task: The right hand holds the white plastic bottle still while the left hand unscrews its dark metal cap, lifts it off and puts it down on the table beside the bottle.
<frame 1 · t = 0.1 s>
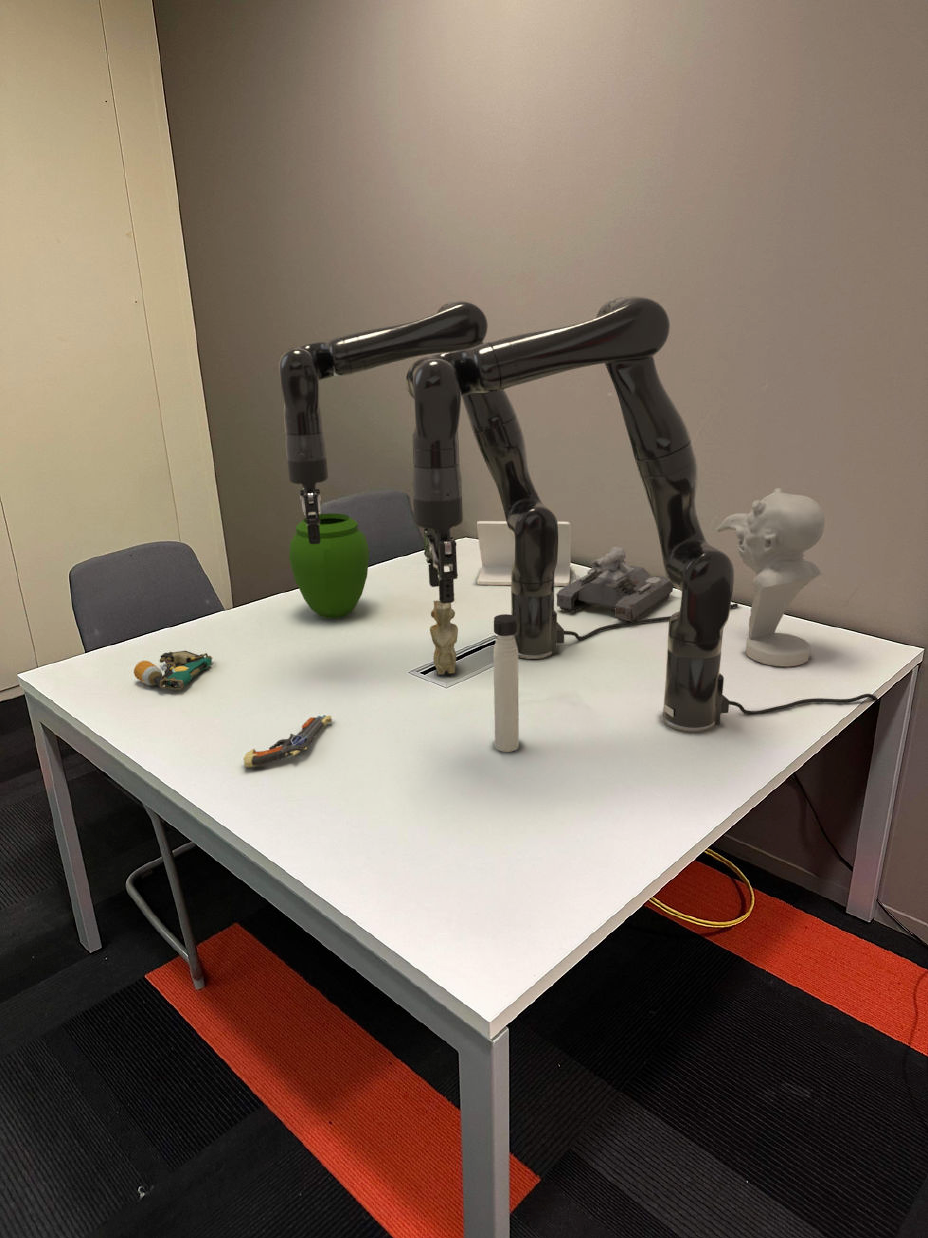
left hand: (314, 538, 170), 30 cm above the table, tool pointing down, fingers open, 8 cm apart
right hand: (441, 593, 136), 29 cm above the table, tool pointing down, fingers open, 8 cm apart
toy: (615, 605, 214), on the table
bust sculpture: (758, 651, 184), on the table
bottle: (506, 746, 149), on the table
cap: (505, 619, 141), point 24 cm above the table, screwed on, not yet turned
vase: (334, 614, 214), on the table
toy gun: (289, 745, 151), on the table
spray gun: (177, 676, 181), on the table
sculpture: (445, 671, 180), on the table
tablet stand: (525, 575, 239), on the table
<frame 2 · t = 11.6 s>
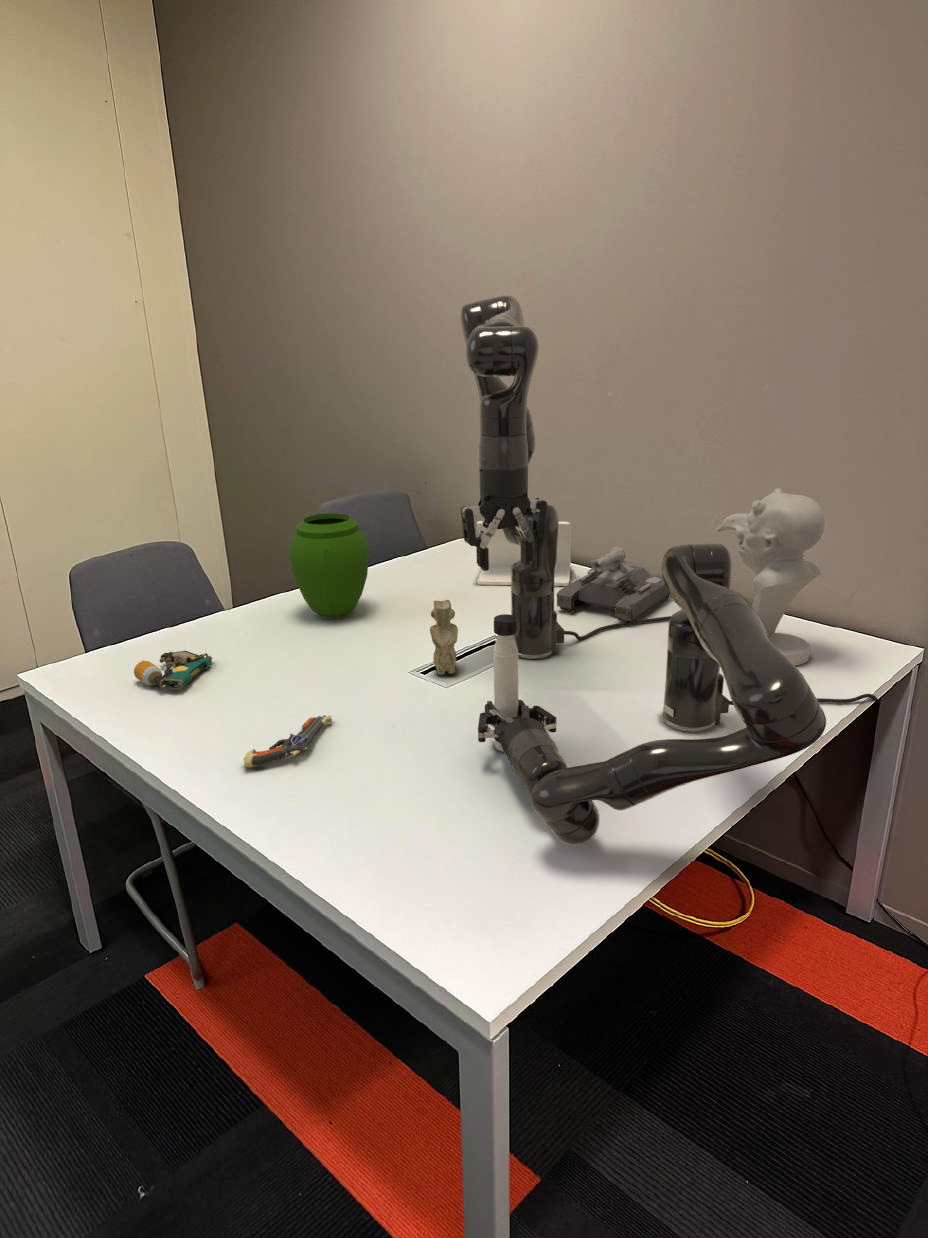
left hand: (504, 566, 137), 33 cm above the table, tool pointing down, fingers open, 6 cm apart
right hand: (502, 704, 149), 7 cm above the table, tool horizontal, fingers closed on bottle, 4 cm apart
bottle: (506, 746, 149), on the table, touching right hand
everything else where it was.
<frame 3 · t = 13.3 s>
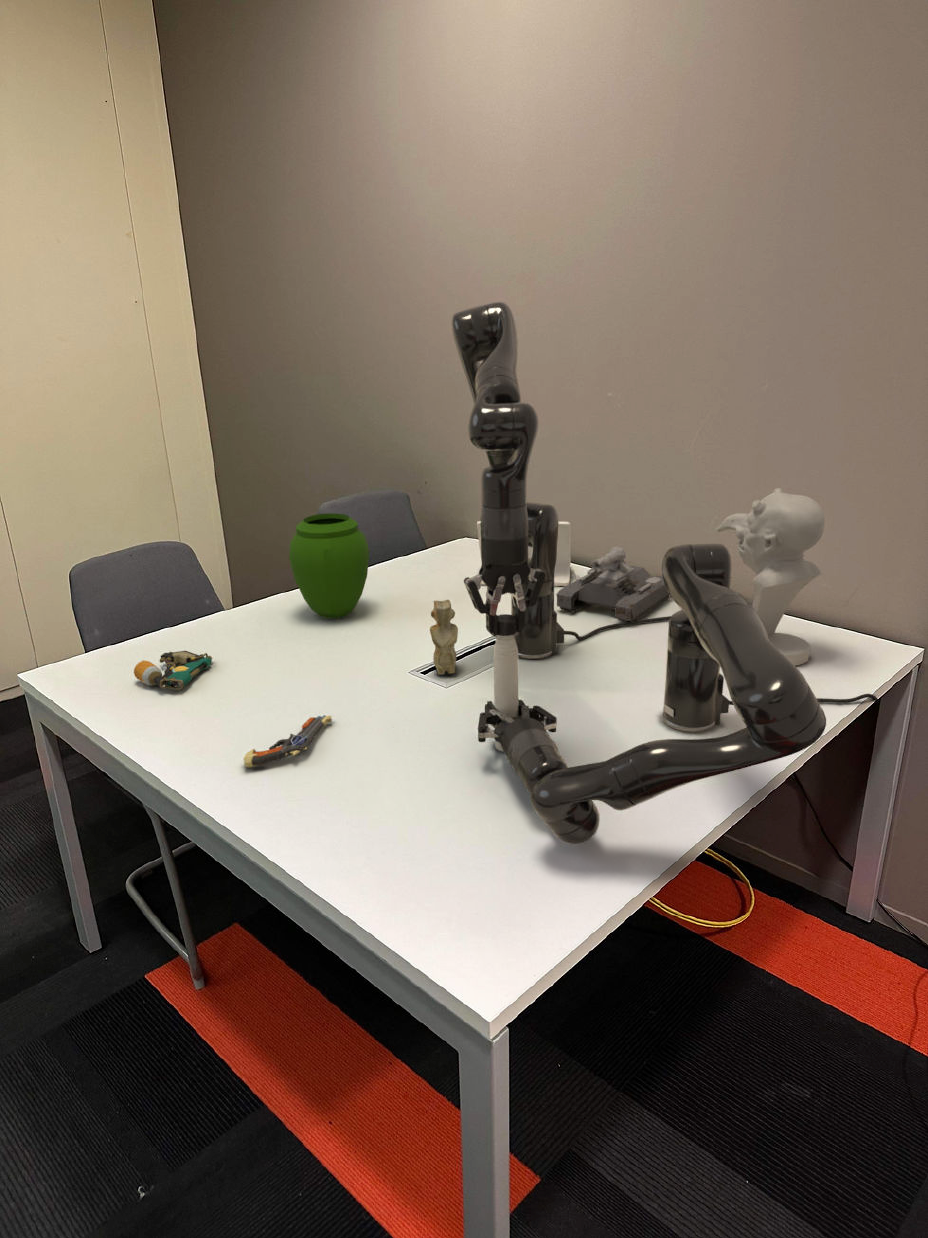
left hand: (505, 632, 141), 21 cm above the table, tool pointing down, fingers closed on cap, 3 cm apart
right hand: (502, 704, 149), 7 cm above the table, tool horizontal, fingers closed on bottle, 4 cm apart
bottle: (506, 746, 149), on the table, touching right hand
cap: (505, 619, 141), point 24 cm above the table, screwed on, not yet turned, touching left hand
everything else where it was.
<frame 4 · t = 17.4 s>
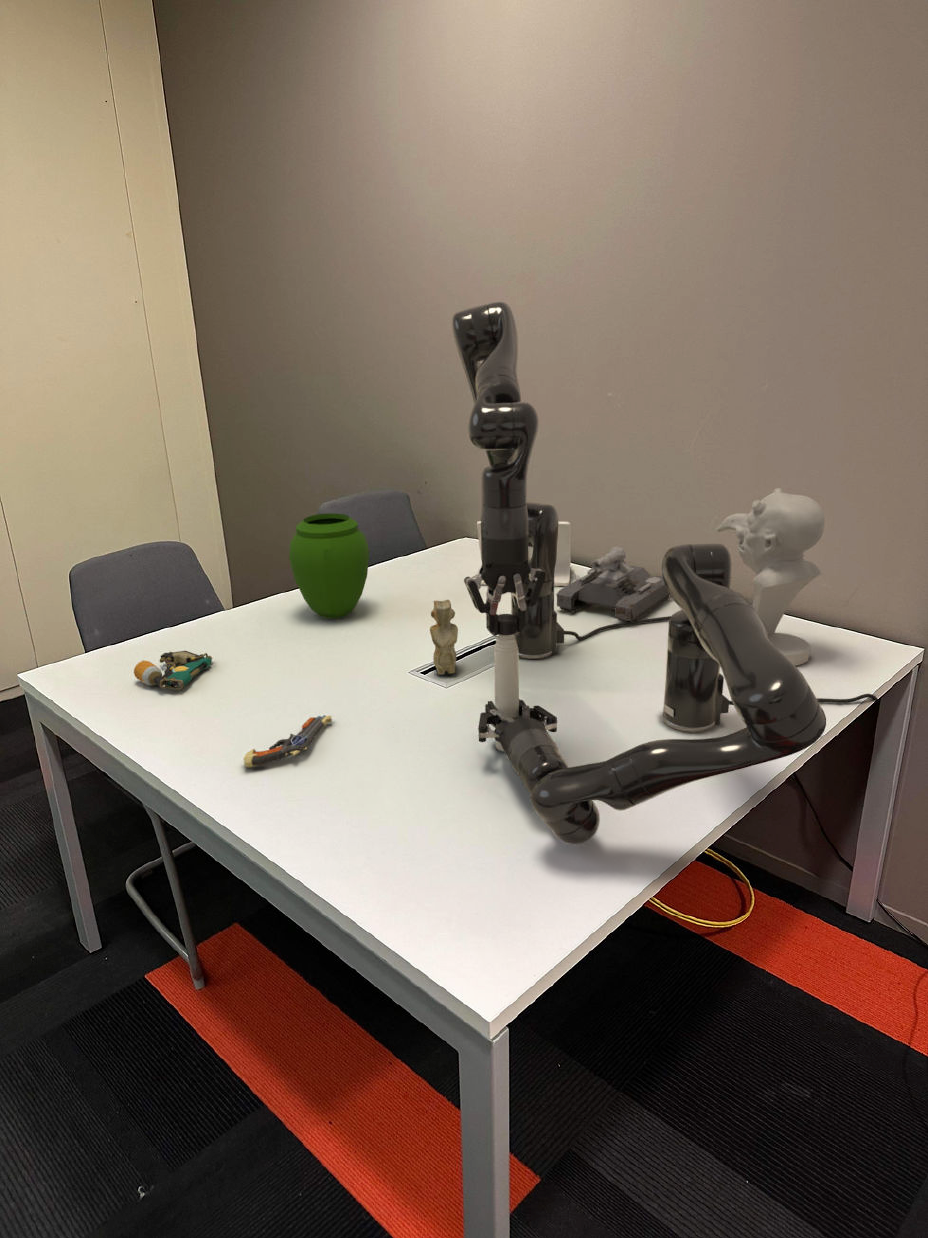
left hand: (505, 631, 141), 21 cm above the table, tool pointing down, fingers closed on cap, 3 cm apart
right hand: (503, 704, 149), 7 cm above the table, tool horizontal, fingers closed on bottle, 4 cm apart
bottle: (507, 746, 149), on the table, touching right hand
cap: (505, 619, 141), point 24 cm above the table, turned 90° so far, risen 0.1 cm, still on its thread, touching left hand
everything else where it was.
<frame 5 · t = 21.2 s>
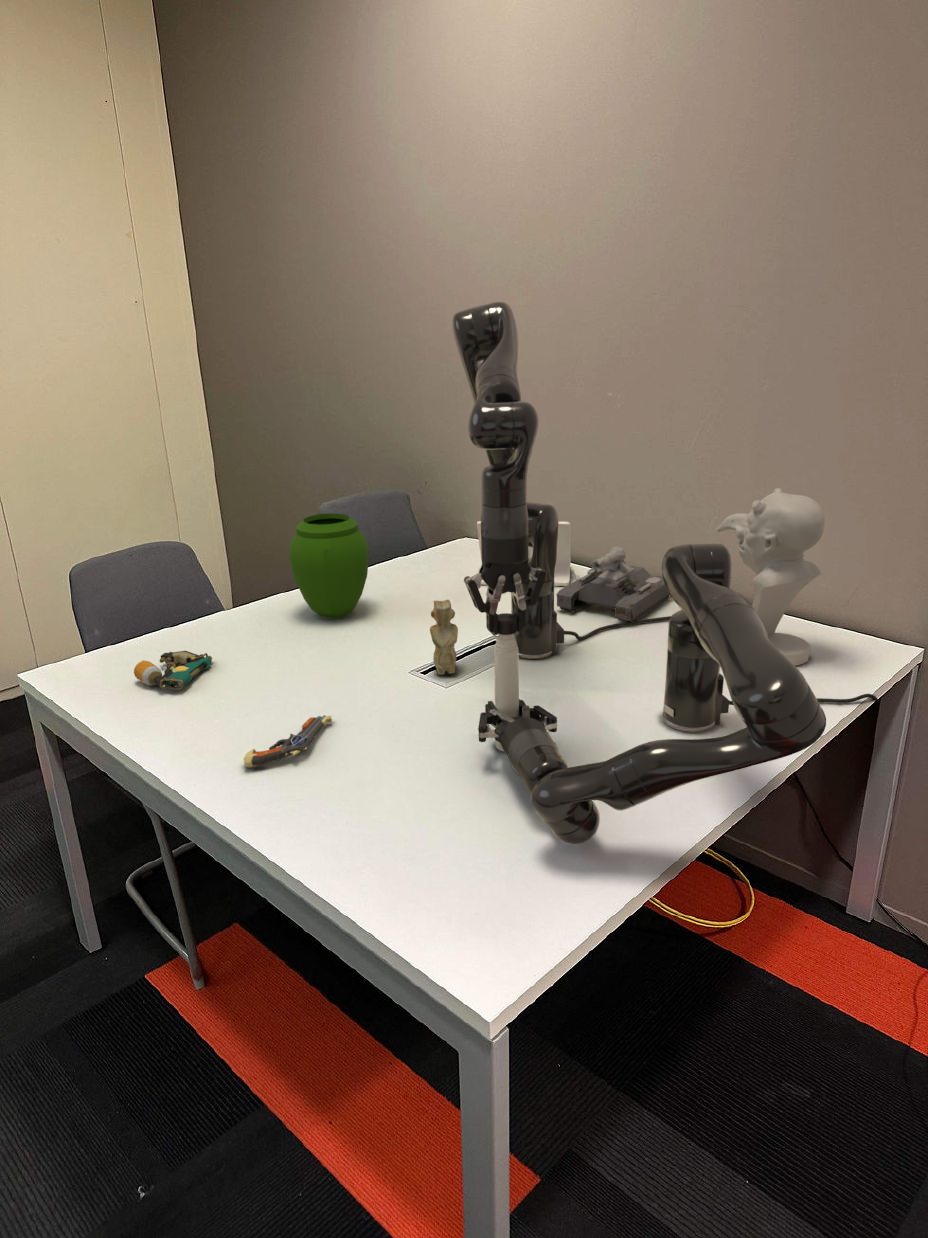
left hand: (505, 631, 141), 22 cm above the table, tool pointing down, fingers closed on cap, 3 cm apart
right hand: (503, 704, 149), 7 cm above the table, tool horizontal, fingers closed on bottle, 4 cm apart
bottle: (507, 746, 149), on the table, touching right hand
cap: (505, 618, 140), point 24 cm above the table, turned 180° so far, risen 0.2 cm, still on its thread, touching left hand
everything else where it was.
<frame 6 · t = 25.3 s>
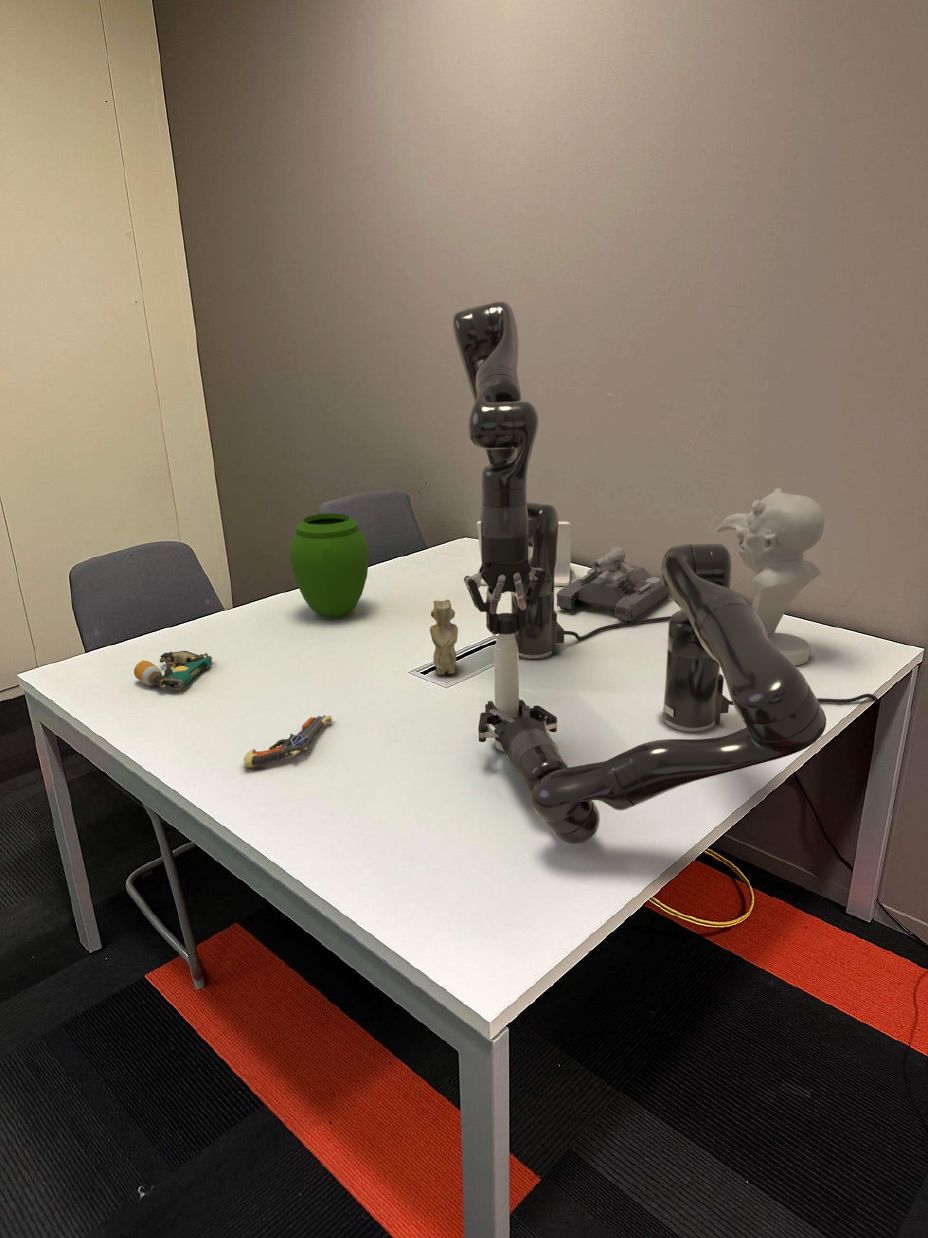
left hand: (505, 630, 141), 22 cm above the table, tool pointing down, fingers closed on cap, 3 cm apart
right hand: (503, 704, 149), 7 cm above the table, tool horizontal, fingers closed on bottle, 4 cm apart
bottle: (507, 746, 149), on the table, touching right hand
cap: (505, 618, 140), point 24 cm above the table, turned 270° so far, risen 0.2 cm, still on its thread, touching left hand
everything else where it was.
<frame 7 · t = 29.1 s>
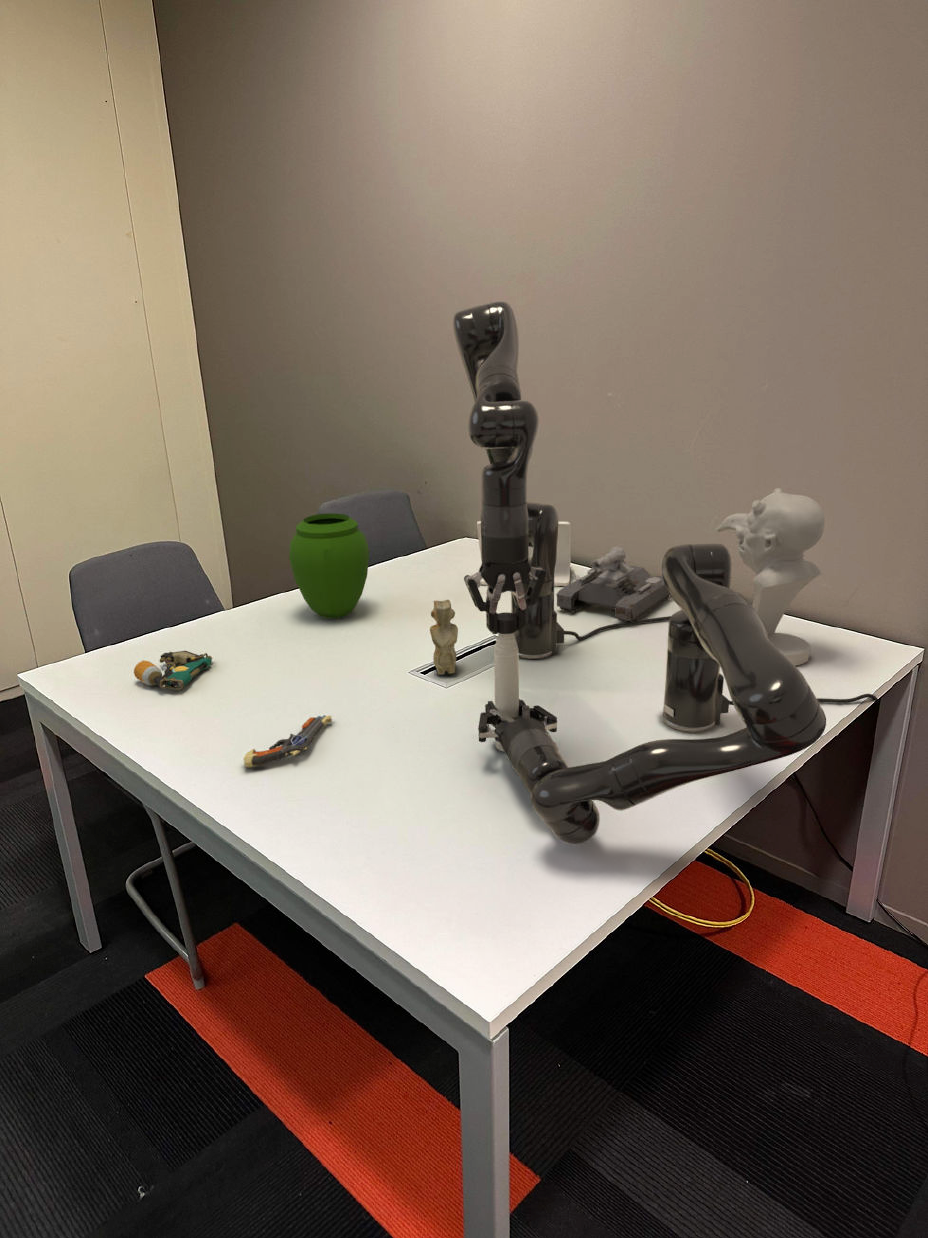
left hand: (505, 630, 141), 22 cm above the table, tool pointing down, fingers closed on cap, 3 cm apart
right hand: (503, 704, 149), 7 cm above the table, tool horizontal, fingers closed on bottle, 4 cm apart
bottle: (507, 746, 149), on the table, touching right hand
cap: (505, 618, 140), point 24 cm above the table, turned 360° so far, risen 0.3 cm, still on its thread, touching left hand
everything else where it was.
when the left hand's fingers open (1 cm above the table, at t = 40.2 s): cap drops 1 cm, point 2 cm above the table.
when the right hand's fingers open (7 cm above the table, at t = 41.4 s): bottle stays where it is, on the table.
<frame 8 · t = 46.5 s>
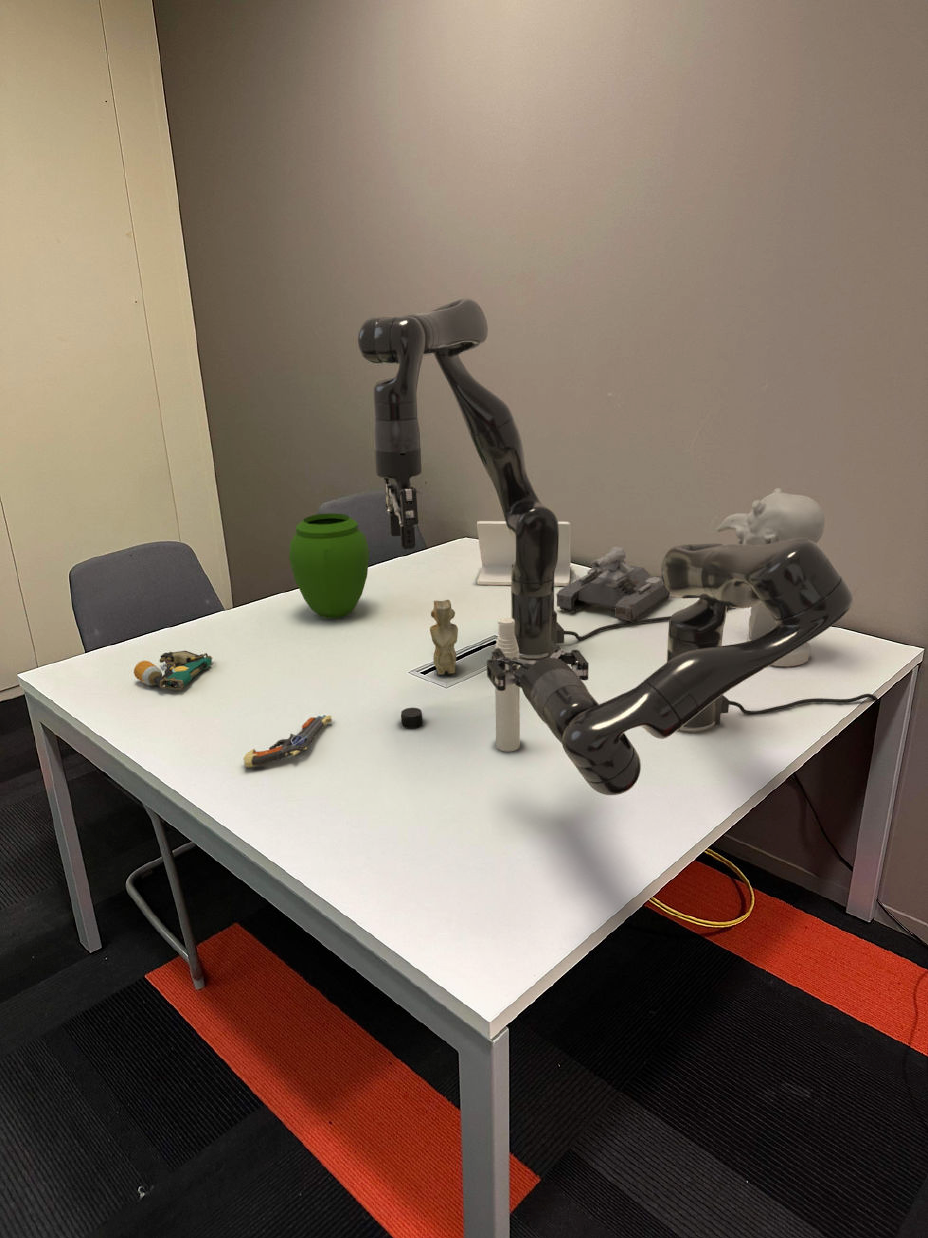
left hand: (402, 541, 145), 35 cm above the table, tool pointing down, fingers open, 8 cm apart
right hand: (523, 650, 131), 22 cm above the table, tool horizontal, fingers open, 8 cm apart
bottle: (507, 745, 149), on the table
cap: (411, 713, 157), point 2 cm above the table, off its thread
everything else where it was.
at the end: cap came off its thread; cap point 2.1 cm above the table; the left hand is holding nothing; the right hand is holding nothing; bottle tilted 0°; bottle moved 0.2 cm from its start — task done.
